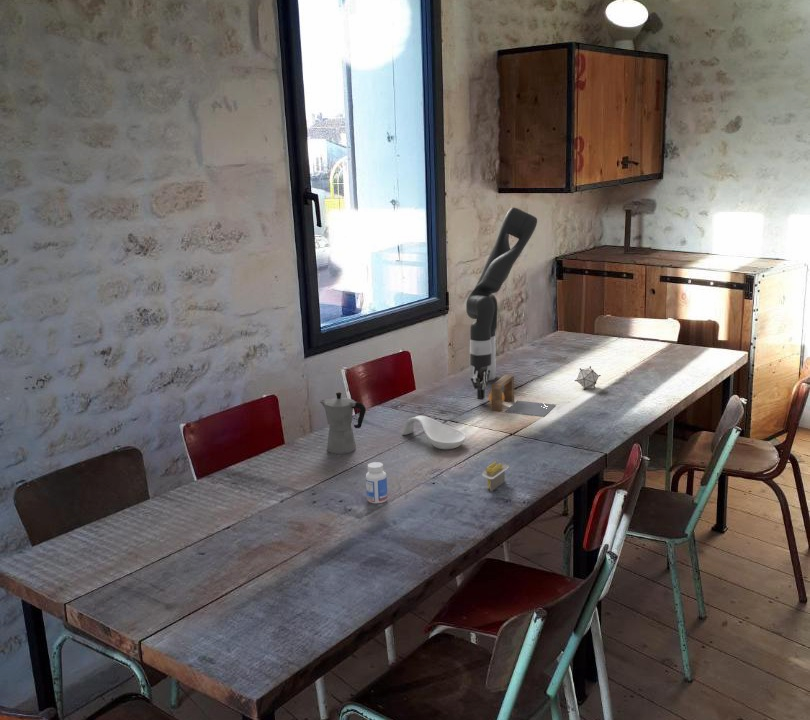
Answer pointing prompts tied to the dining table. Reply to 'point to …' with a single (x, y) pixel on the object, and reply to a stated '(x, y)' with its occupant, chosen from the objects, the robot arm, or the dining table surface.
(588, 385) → the game die
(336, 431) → the coffeepot
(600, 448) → the dining table surface
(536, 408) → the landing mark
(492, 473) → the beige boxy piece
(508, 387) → the bridge
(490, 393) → the ball
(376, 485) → the pill bottle
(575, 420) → the dining table surface
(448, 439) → the spoon rest
